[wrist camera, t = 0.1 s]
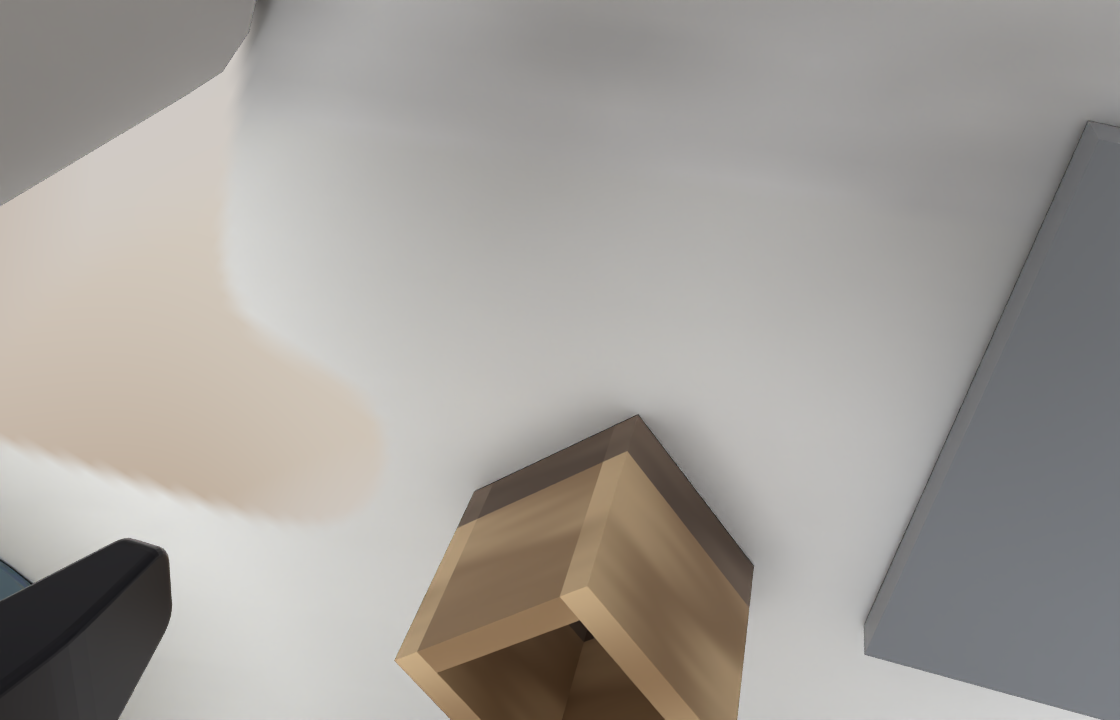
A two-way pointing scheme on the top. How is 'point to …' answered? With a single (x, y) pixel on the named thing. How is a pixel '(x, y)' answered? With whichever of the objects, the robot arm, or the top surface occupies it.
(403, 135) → the top surface
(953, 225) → the top surface
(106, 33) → the can
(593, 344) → the top surface
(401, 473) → the top surface
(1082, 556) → the pin board
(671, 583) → the oak sleeve
